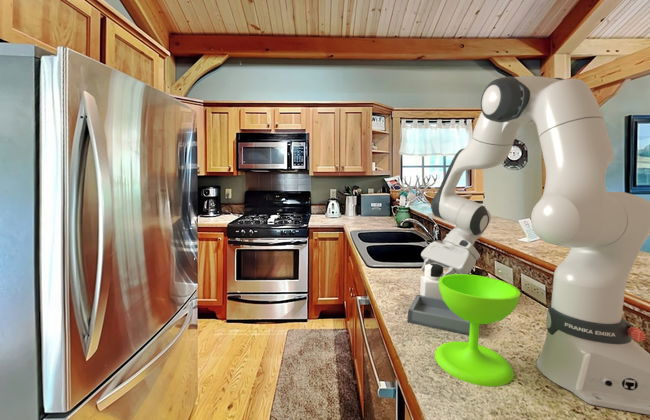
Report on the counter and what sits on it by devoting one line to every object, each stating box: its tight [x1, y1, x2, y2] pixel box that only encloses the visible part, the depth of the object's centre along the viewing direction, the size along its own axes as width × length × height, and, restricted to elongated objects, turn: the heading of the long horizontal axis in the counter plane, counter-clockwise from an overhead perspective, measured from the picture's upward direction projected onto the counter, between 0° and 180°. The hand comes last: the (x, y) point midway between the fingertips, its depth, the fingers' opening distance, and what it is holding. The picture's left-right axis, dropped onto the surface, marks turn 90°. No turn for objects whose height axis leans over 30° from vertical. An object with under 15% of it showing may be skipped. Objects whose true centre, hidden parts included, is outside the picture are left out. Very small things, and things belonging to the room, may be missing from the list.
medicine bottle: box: [419, 263, 444, 299], centre depth 105 cm, size 7×7×12 cm
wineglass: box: [434, 273, 521, 387], centre depth 68 cm, size 16×16×18 cm
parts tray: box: [407, 294, 470, 336], centre depth 90 cm, size 18×14×4 cm
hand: (432, 274), depth 105 cm, fingers open, 8 cm apart
